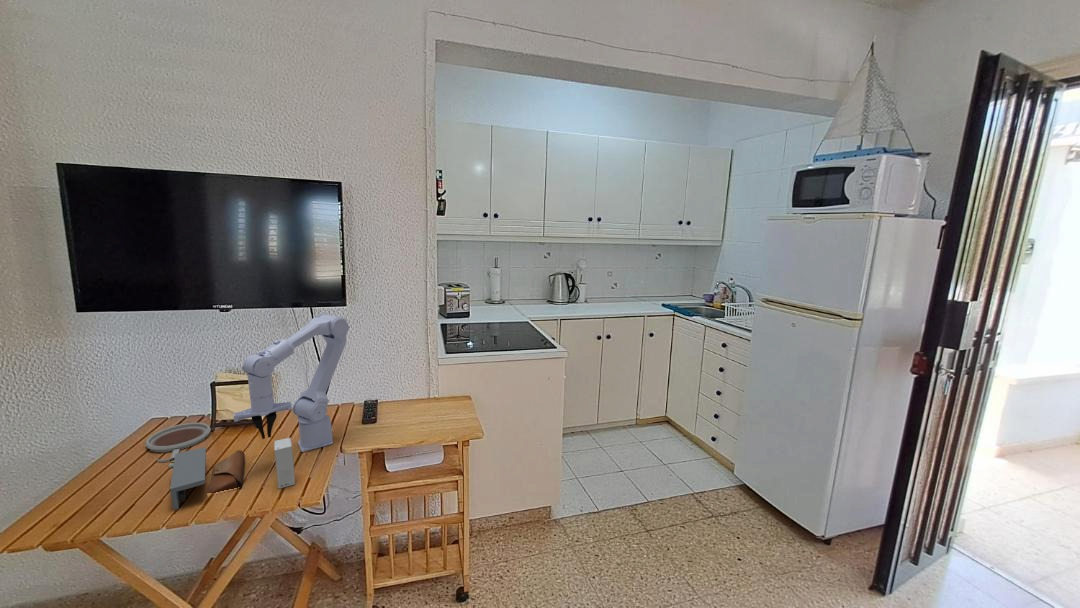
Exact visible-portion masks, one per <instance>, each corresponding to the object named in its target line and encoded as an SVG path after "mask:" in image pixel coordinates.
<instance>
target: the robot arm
mask: <svg viewBox="0 0 1080 608" xmlns="http://www.w3.org/2000/svg"><path fill="white" fill-rule="evenodd" d="M349 329H350V325H349V323H348V321H347V320H346V318H344V317H343V316H336V315H330V314H328V313H319V314H318V315H316V317H313V318H311V320H310V322H308V323H307V324H306V325H305V326H304V327H302V328H301V329H299V330H298V331H297V332H295V333H294V334H292V335H291V336H290V337H288V338H287V339H285V338H284V339H283V338H282V339H275V340H274V341H272V342H273V343H272V344H271V345H269V346H268V347H266V348H265V349H263V350H262V349H261V350H260V351H258V354H250V355H249V356H247V357H246V359H245V360H244V361H243V365H241V369H242V371H243V372H244V373H246V376H247V380H248V382H247V383H248V391H249V399H250V401H249V402H250V408H248V409H245V410H242V411H238V412H234V413H233V422H234V423H235V422H239V421H241V420H246V419H251V421H252V423H253V424H254V426H255V427H256V429H257V430H258V431H259V433H260V436H261V439H262V440H264V439H266V434H267V437H268V438H271V437H272V431H273V427H274V423H275V421H276V420H277V416H278V415H277V413H279V412H283V411H292V412H293V414H294V415H295V416H297V421H298V430H299V431H298V433H299V440H297V444H298V446H299V449H300V452H301V453H303V452H308V451H312V450H315V449H320V448H323V447H327V446H330V445H333V444H334V441H333V431H332V429H333V428H332V422H331V421H332V420H331V417H330V415H329V414H328V413H327V412H328V404H329V402H330V400H329V397H328V396H327V391H328V388H329V386H330V384H331V380H332V378H333V376H334V374H335V371H336V369H337V366H338V364H339V361H340V359H341V357H342V355H343V352H344V350H345V347H346V344H347V334H348V332H349ZM315 336H322V337H323V338H324V340H325V341H324V342H326V346H325V348H324V351H323V353H322V355H321V358H320V360H319V363H318V364H317V368H316V370H315V372H314V374H313V377H312V378H311V381H310V383H309V386H308V388H306V390H303V391H302V392H301V393H300V395H299V397H298V398H297V399H296V400H295V401H294V403H293V404H292V402H291V401H287V402H276V403H275V402H274V401H275V399H274V392H273V390H274V389H273V382H272V374H273V372H274V371H275V368H276V367H277V366H278V365H279V364H280V363H282V362H283V361H285V360H286V359H288V358H289V357H290V356H292V355H294V351H295V349H296V348H297V347H299V346H300V345H303V344H304V343H306V342H307V341H309V340H311V339H313V338H314V337H315ZM292 405H293V406H292ZM264 416H265V419H266V434H265V430H264V423H263V417H264Z"/></svg>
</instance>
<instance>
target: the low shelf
mask: <svg viewBox="0 0 1080 608" xmlns="http://www.w3.org/2000/svg"><path fill="white" fill-rule="evenodd" d="M206 460H207V446H204V447H198V448H194V449H190V450H186V451H181V452H179V453H177V454H175V459H174V466H173V468H172V474H171V480H170V481H171V482H170V486H169V488H170V489H169V490H170V497H171V504H172V509H173V511H176V510H180V509H179V508H180V503H181V502H186V498H185V497H186V496H187V492H186V490H188V489H191V488H194V487H199V486H202V485H205V484H206V474H207V473H206V470H207V469H206V467H207V466H206V464H207V461H206Z"/></svg>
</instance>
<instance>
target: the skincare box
mask: <svg viewBox="0 0 1080 608" xmlns="http://www.w3.org/2000/svg"><path fill="white" fill-rule="evenodd" d="M291 439H292V438H291V437H286V438H281V439H279V440H278V439H277V440H274V441H273V442H274V443H273V444H274V446H273V447H274V458H275V460H274V461H275V467H276V479H277V480H276V481H277V489H279V490H280V489H284V488H286V487H290V486H294V485H296V480H295V479H296V478H295V467H294V456H293V455H294V454H293V445H292V440H291Z"/></svg>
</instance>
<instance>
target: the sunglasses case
mask: <svg viewBox="0 0 1080 608" xmlns="http://www.w3.org/2000/svg"><path fill="white" fill-rule="evenodd" d="M245 456H246V455H245V451H243V450H241V449H238V450H236V451H235V452H234V453H232V454H231V455H230V456H228V457H226V458H224V459H222V460H221V461H219V462H217V463H216V464H214V465H213V466H212V473H211V476H210V481H209V484H208V487H207V490H206V493H216V492H220V491H224V490H229V489H234V488H238V487H241V488H242V487H243V481H244V479H243V477H244V471H245V470H244V467H245V460H246V457H245Z"/></svg>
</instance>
